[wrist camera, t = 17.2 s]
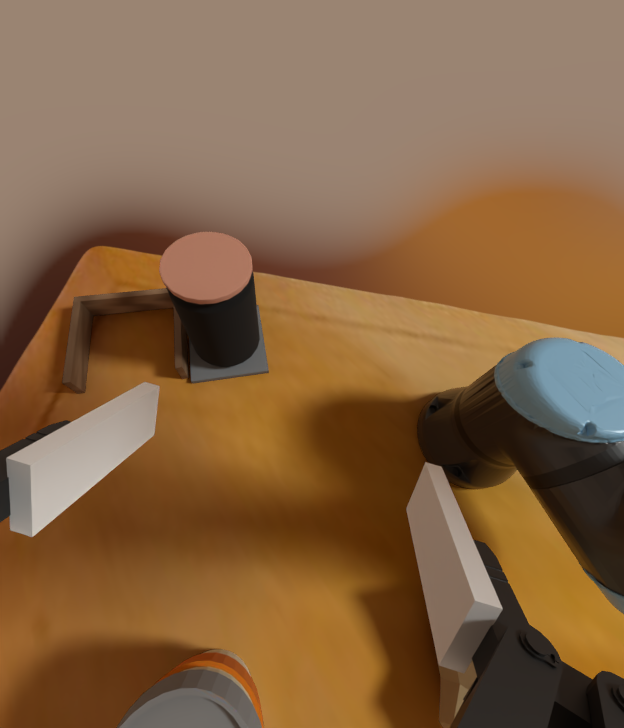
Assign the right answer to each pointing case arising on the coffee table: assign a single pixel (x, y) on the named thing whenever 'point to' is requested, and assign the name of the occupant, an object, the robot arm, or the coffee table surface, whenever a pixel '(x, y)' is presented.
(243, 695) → the reusable coffee cup
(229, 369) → the charcoal mat
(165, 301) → the walnut holder
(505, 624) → the robot arm
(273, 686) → the coffee table surface
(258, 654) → the coffee table surface
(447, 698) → the low-poly potato
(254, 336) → the coffee jar
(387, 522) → the coffee table surface
